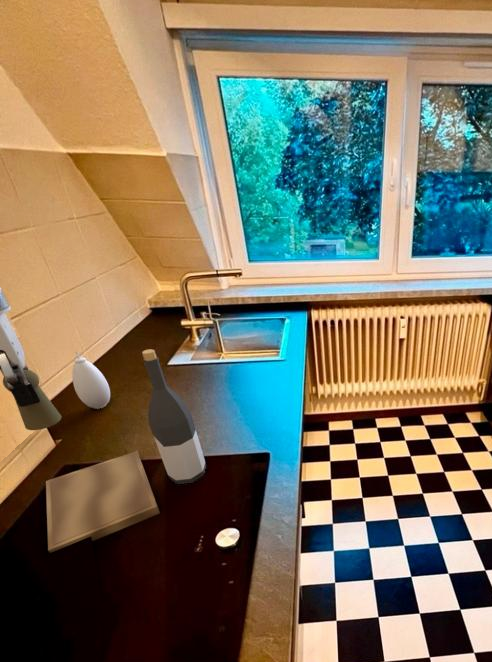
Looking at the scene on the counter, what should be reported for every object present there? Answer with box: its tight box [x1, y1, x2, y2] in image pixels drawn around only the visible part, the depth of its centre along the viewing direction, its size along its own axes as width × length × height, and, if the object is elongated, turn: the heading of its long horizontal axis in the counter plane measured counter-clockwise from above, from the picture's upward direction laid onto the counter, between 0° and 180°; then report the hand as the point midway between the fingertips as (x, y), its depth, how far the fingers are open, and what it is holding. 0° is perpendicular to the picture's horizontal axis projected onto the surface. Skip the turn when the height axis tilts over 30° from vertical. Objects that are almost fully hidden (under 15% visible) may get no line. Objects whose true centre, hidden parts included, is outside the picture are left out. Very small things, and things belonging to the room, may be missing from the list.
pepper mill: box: [2, 369, 62, 431], centre depth 75 cm, size 6×6×11 cm
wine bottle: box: [141, 349, 207, 485], centre depth 80 cm, size 8×8×30 cm
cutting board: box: [45, 450, 161, 553], centre depth 80 cm, size 18×22×2 cm
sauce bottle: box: [72, 349, 111, 410], centre depth 107 cm, size 8×8×18 cm
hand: (29, 396), depth 75 cm, fingers closed on pepper mill, 5 cm apart
